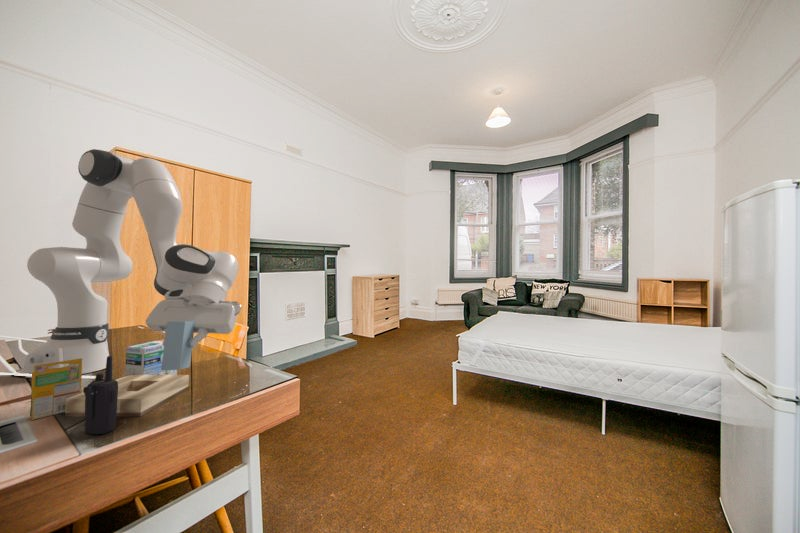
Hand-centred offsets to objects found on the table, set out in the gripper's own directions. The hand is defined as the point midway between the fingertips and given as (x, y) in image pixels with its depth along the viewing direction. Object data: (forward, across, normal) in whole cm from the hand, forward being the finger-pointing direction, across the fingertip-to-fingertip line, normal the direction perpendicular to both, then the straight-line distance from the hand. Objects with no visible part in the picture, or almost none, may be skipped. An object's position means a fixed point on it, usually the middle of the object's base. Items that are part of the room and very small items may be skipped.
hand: (178, 346), depth 72 cm
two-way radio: (+19, +7, -1) cm, 20 cm away
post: (+4, 0, -3) cm, 5 cm away
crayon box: (+13, +24, -8) cm, 28 cm away
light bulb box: (-1, +18, -24) cm, 30 cm away
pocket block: (+9, +12, -12) cm, 19 cm away
